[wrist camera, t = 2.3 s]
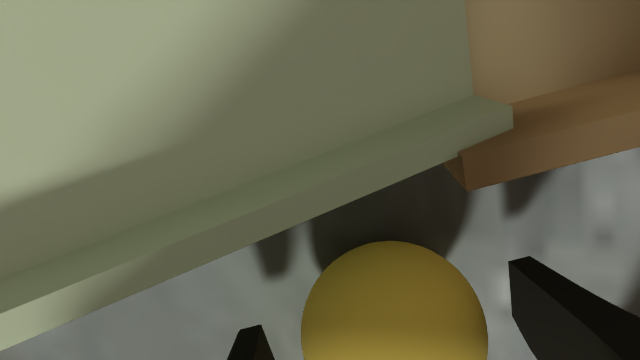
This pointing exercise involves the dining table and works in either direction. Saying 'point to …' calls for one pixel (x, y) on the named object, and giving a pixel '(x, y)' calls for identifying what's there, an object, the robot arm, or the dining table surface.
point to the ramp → (207, 132)
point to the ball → (393, 308)
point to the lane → (552, 84)
